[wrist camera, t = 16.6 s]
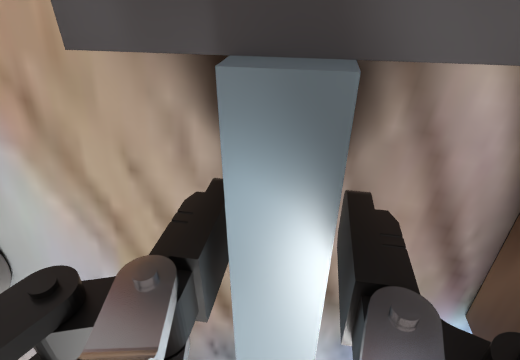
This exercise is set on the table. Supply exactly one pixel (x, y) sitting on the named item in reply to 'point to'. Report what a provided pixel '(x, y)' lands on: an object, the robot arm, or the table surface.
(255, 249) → the scraper
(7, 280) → the travel mug
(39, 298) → the robot arm
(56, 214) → the table surface
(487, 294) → the wooden box lid
